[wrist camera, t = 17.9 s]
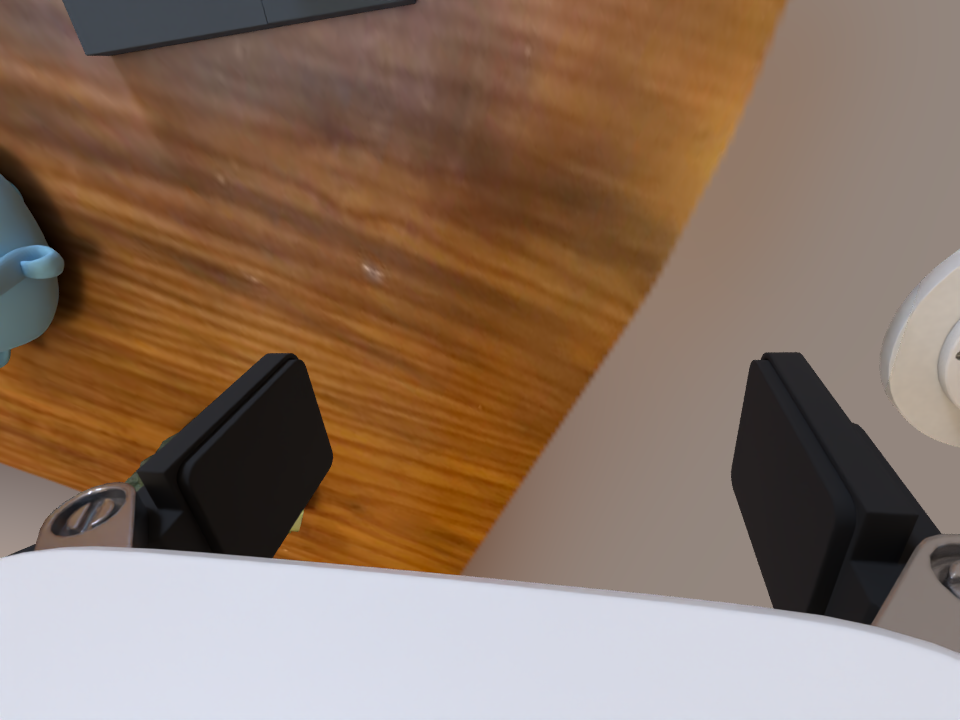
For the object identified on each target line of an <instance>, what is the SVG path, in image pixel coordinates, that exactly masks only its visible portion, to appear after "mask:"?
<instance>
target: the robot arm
mask: <svg viewBox="0 0 960 720" xmlns="http://www.w3.org/2000/svg"><path fill="white" fill-rule="evenodd" d="M938 377H939V382H940V385H941V387H942V390H943V392H944V394H945V395H946V396H947V397H948V398H949V400H950V401H951V402H952V403H953V404H954V405H955V406H956V407H958V408H959V409H960V320H959V321H958V322H957V323H956V325H955V326H954V328H953V329H952V331H951V332H950V334H949V335H948V337H947V338H946V341H945V343H944V345H943V348H942V350H941V352H940V357H939V362H938ZM332 460H333V453H332V449H331V446H330V443H329V439H328V436H327V433H326V430H325V427H324V423H323V420H322V417H321V414H320V410H319V407H318V404H317V401H316V398H315V394H314V391H313V388H312V385H311V382H310V378H309V375H308V372H307V369H306V366H305V364H304V362H303V361H302V360H299V359H298V358H297V356H296V355H294V354H292V353H270V354H266V355H265V356H263V357H262V358H261V359H260V360H259V361H258V362H257V363H256V364H255V365H253V366H252V367H251V368H250V369H249V370H248V371H247V372H246V373H245V374H243V375H242V376H241V377H240V378H239V379H238V380H237V381H236V382H234V383H233V384H232V385H231V386H230V387H229V388H228V389H227V390H226V391H224V392H223V393H222V394H221V395H220V396H219V397H218V398H217V399H216V400H214V401H213V402H212V403H211V404H210V405H209V406H208V407H207V408H206V409H204V410H203V411H202V412H201V413H200V414H199V415H198V416H197V417H196V418H194V419H193V420H192V421H191V422H190V423H189V424H188V425H187V426H186V427H184V428H183V429H182V430H181V431H180V432H179V433H178V434H177V435H176V436H174V437H173V438H172V439H171V440H170V441H169V442H168V443H167V444H166V445H164V446H163V447H162V448H161V449H160V450H159V451H158V452H157V453H156V454H154V455H153V456H152V457H151V458H150V459H149V460H148V461H147V462H145V463H144V464H143V465H142V466H141V467H140V468H139V469H138V470H137V471H136V472H137V474H138V475H139V477H140V479H141V481H142V483H143V484H144V485H143V486H142V487H141V488H140V489H139V490H138V491H137V492H136V490H135V488H134V487H133V486H131V485H130V484H129V483H123V482H114V483H106V484H103V485H99V486H96V487H93V488H91V489H88V490H86V491H84V492H81V493H79V494H77V495H76V496H74V497H72V498H70V499H69V500H67V501H65V502H64V503H63V504H62V505H60V506H59V507H58V508H56V509H55V510H54V511H53V512H52V513H51V514H50V515H49V516H48V517H47V519H46V520H45V521H44V523H43V525H42V527H41V529H40V532H39V535H38V538H37V542H36V544H34V545H32V546H30V547H27V548H25V549H22V550H20V551H18V552H15V553H13V554H11V555H8V556H6V557H3V558H0V720H960V534H941V533H940V531H939V530H938V529H937V527H936V526H935V525H934V523H933V522H932V521H931V519H930V518H929V517H928V515H927V514H926V513H925V511H924V510H923V509H922V507H921V506H920V505H919V503H918V502H917V501H916V499H915V498H914V497H913V495H912V494H911V493H910V491H909V490H908V489H907V487H906V486H905V485H904V483H903V482H902V480H901V479H900V478H899V477H898V475H897V474H896V472H895V471H894V470H893V468H892V467H891V466H890V465H889V463H888V462H887V461H886V459H885V458H884V457H883V455H882V454H881V452H880V451H879V450H878V448H877V447H876V446H875V444H874V443H873V442H872V440H871V439H870V438H869V436H868V435H867V434H866V433H865V431H864V430H863V429H862V428H861V427H860V426H859V425H857V424H854V423H852V422H851V421H850V420H849V418H848V417H847V416H846V414H845V413H844V411H843V410H842V409H841V407H840V406H839V404H838V403H837V402H836V400H835V399H834V398H833V397H832V395H831V394H830V392H829V391H828V390H827V388H826V387H825V386H824V384H823V383H822V381H821V380H820V379H819V377H818V376H817V374H816V373H815V372H814V370H813V369H812V368H811V366H810V365H809V363H808V362H807V361H806V359H805V358H804V357H803V355H802V354H801V353H797V352H794V353H792V352H790V353H788V352H785V353H784V352H783V353H764V354H763V356H762V358H761V360H753V361H752V362H751V365H750V368H749V374H748V379H747V385H746V391H745V396H744V402H743V408H742V413H741V418H740V424H739V430H738V435H737V441H736V447H735V453H734V458H733V463H732V470H731V478H732V479H731V480H732V486H733V490H734V493H735V496H736V498H737V501H738V505H739V507H740V510H741V513H742V516H743V519H744V522H745V525H746V528H747V531H748V534H749V537H750V540H751V543H752V546H753V549H754V552H755V555H756V558H757V561H758V564H759V566H760V570H761V572H762V576H763V578H764V581H765V584H766V587H767V590H768V593H769V596H770V599H771V602H772V605H773V608H774V609H773V608H766V607H758V606H751V605H742V604H734V603H726V602H716V601H708V600H698V599H689V598H680V597H671V596H662V595H654V594H644V593H634V592H623V591H614V590H603V589H593V588H583V587H573V586H563V585H553V584H543V583H542V584H541V583H532V582H522V581H511V580H502V579H492V578H481V577H471V576H460V575H449V574H439V573H428V572H417V571H407V570H396V569H385V568H374V567H363V566H352V565H341V564H331V563H319V562H308V561H296V560H285V559H273V556H274V555H275V553H276V552H277V550H278V549H279V547H280V545H281V544H282V542H283V541H284V539H285V538H286V536H287V534H288V533H289V531H290V530H291V528H292V527H293V525H294V524H295V522H296V520H297V519H298V517H299V516H300V514H301V513H302V511H303V510H304V508H305V506H306V505H307V503H308V502H309V500H310V499H311V497H312V495H313V494H314V492H315V491H316V489H317V488H318V486H319V485H320V483H321V481H322V480H323V478H324V477H325V475H326V474H327V472H328V471H329V469H330V467H331V465H332Z"/></svg>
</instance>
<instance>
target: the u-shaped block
mask: <svg viewBox="0 0 960 720" xmlns="http://www.w3.org/2000/svg"><path fill="white" fill-rule="evenodd" d="M62 1H63V3H64V5H65V8H66V10H67V12H68V15H69V17H70V19H71V21H72V24H73V26H74V28H75V31H76V33H77V35H78V38H79V40H80V42H81V45H82V47H83V49H84V52H85V54H86V55H87V56H110V55H116V54H122V53H128V52H134V51H140V50H146V49H151V48H157V47H163V46H169V45H175V44H181V43H187V42H192V41H198V40H204V39H210V38H216V37H222V36H228V35H233V34H239V33H245V32H251V31H257V30H263V29H269V28H274V27H280V26H286V25H292V24H297V23H303V22H309V21H315V20H321V19H327V18H333V17H338V16H344V15H350V14H356V13H362V12H368V11H373V10H379V9H385V8H391V7H397V6H403V5H409V4H414V3H416V0H62Z"/></svg>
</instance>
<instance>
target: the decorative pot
mask: <svg viewBox="0 0 960 720" xmlns="http://www.w3.org/2000/svg"><path fill="white" fill-rule="evenodd" d="M63 269H64V260H63V258H62V257H61V256H60V254H59V253H58V252H56V251H55V250H54V249H52V248H50V247H49V246H48V244H47V242H46V240H45V237H44V235H43V233H42V231H41V230H40V228H39V226H38V224H37V222H36V221H35V219H34V217H33V216H32V214H31V212H30V211H29V209H28V208H27V206H26V205H25V203H24V200H23V197H22V195H21V193H20V192H19V190H18V189H17V188H16V187H15V186H14V185H13V184H12V183H11V182H9V181H8V180H6V179H5V178H4V177H3V176H2V175H1V174H0V368H1V367H3V366H4V365H6V364H7V363H8V361H9V359H10V354H11V349H12V348H15V347H18V346H20V345H23V344H26V343H28V342H30V341H32V340H34V339H36V338H38V337H39V336H40V335H42V334H43V333H44V332H45V331H46V330H47V328H48V327H49V325H50V324H51V322H52V320H53V317H54V315H55V312H56V309H57V305H58V300H59V287H58V279H57V276H58V275H60V274H61V273H62V272H63Z"/></svg>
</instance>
